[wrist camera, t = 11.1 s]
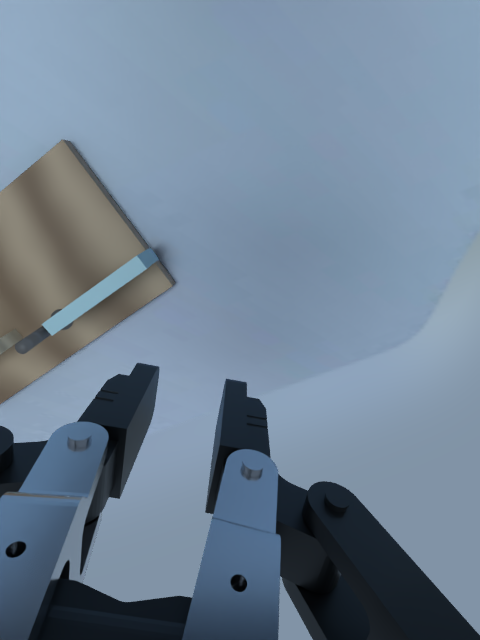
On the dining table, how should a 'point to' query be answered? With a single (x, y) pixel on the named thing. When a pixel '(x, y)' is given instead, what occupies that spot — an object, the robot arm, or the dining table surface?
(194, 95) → the dining table surface
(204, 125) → the dining table surface
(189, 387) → the dining table surface
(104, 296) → the bar
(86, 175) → the socket board
